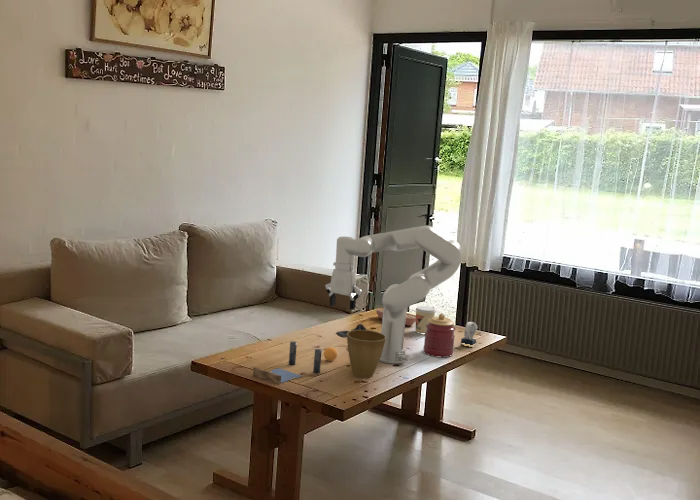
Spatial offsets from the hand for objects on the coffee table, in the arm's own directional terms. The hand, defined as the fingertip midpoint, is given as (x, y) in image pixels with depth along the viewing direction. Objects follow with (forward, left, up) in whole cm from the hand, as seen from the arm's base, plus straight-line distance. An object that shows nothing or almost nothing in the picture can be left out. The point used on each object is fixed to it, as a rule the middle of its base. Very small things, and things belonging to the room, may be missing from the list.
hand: (342, 307), depth 316 cm
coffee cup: (-4, -60, -20) cm, 64 cm away
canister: (-27, -35, -20) cm, 49 cm away
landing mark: (-4, +41, -20) cm, 46 cm away
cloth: (+11, -30, -21) cm, 38 cm away
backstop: (-4, +48, -20) cm, 52 cm away
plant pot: (-24, +16, -20) cm, 35 cm away
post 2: (-10, +27, -20) cm, 35 cm away
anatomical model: (+16, -66, -20) cm, 71 cm away
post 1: (+2, +27, -20) cm, 34 cm away
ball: (-4, +11, -17) cm, 21 cm away
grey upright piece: (-30, -58, -20) cm, 68 cm away
